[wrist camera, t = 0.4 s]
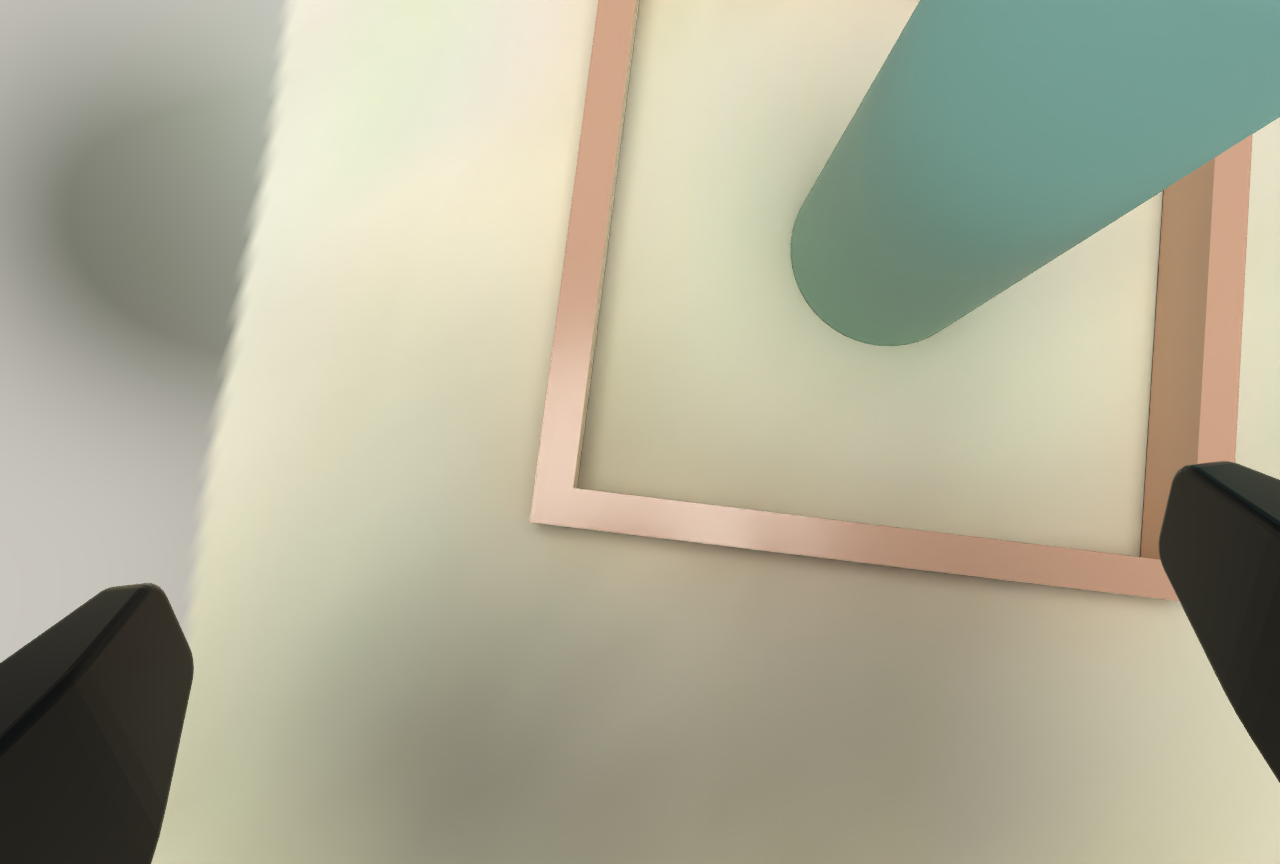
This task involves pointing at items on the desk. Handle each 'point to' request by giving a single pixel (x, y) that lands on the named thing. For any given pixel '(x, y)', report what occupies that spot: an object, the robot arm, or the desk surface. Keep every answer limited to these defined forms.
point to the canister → (1019, 146)
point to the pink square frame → (1178, 436)
